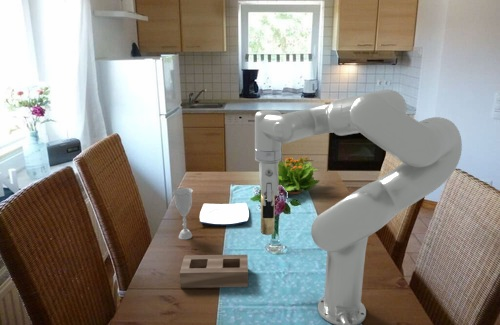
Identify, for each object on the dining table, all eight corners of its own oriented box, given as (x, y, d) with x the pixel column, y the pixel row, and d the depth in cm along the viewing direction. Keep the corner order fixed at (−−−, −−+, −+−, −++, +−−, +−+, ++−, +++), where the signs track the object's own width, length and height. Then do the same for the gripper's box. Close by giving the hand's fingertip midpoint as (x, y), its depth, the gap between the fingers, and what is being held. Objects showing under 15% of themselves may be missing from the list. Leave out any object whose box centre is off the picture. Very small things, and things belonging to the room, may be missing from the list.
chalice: (186, 230, 154) (184, 186, 149) (198, 235, 150) (196, 190, 145) (171, 237, 148) (168, 192, 143) (184, 242, 144) (181, 196, 139)
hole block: (248, 286, 118) (247, 271, 116) (180, 287, 118) (179, 272, 116) (247, 268, 127) (247, 254, 126) (185, 269, 127) (184, 255, 126)
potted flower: (259, 186, 201) (259, 153, 196) (299, 179, 211) (300, 147, 206) (284, 203, 180) (284, 166, 175) (327, 195, 189) (329, 159, 184)
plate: (197, 229, 156) (197, 222, 155) (202, 208, 175) (201, 202, 174) (249, 228, 156) (249, 221, 156) (248, 207, 176) (248, 202, 175)
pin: (274, 234, 116) (275, 196, 113) (261, 235, 116) (261, 196, 113) (273, 228, 120) (274, 191, 117) (260, 228, 120) (260, 191, 117)
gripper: (284, 162, 104) (283, 226, 109) (278, 147, 120) (277, 203, 125) (255, 163, 103) (255, 227, 109) (253, 147, 119) (254, 203, 125)
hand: (267, 213), depth 117 cm, fingers closed on pin, 4 cm apart
